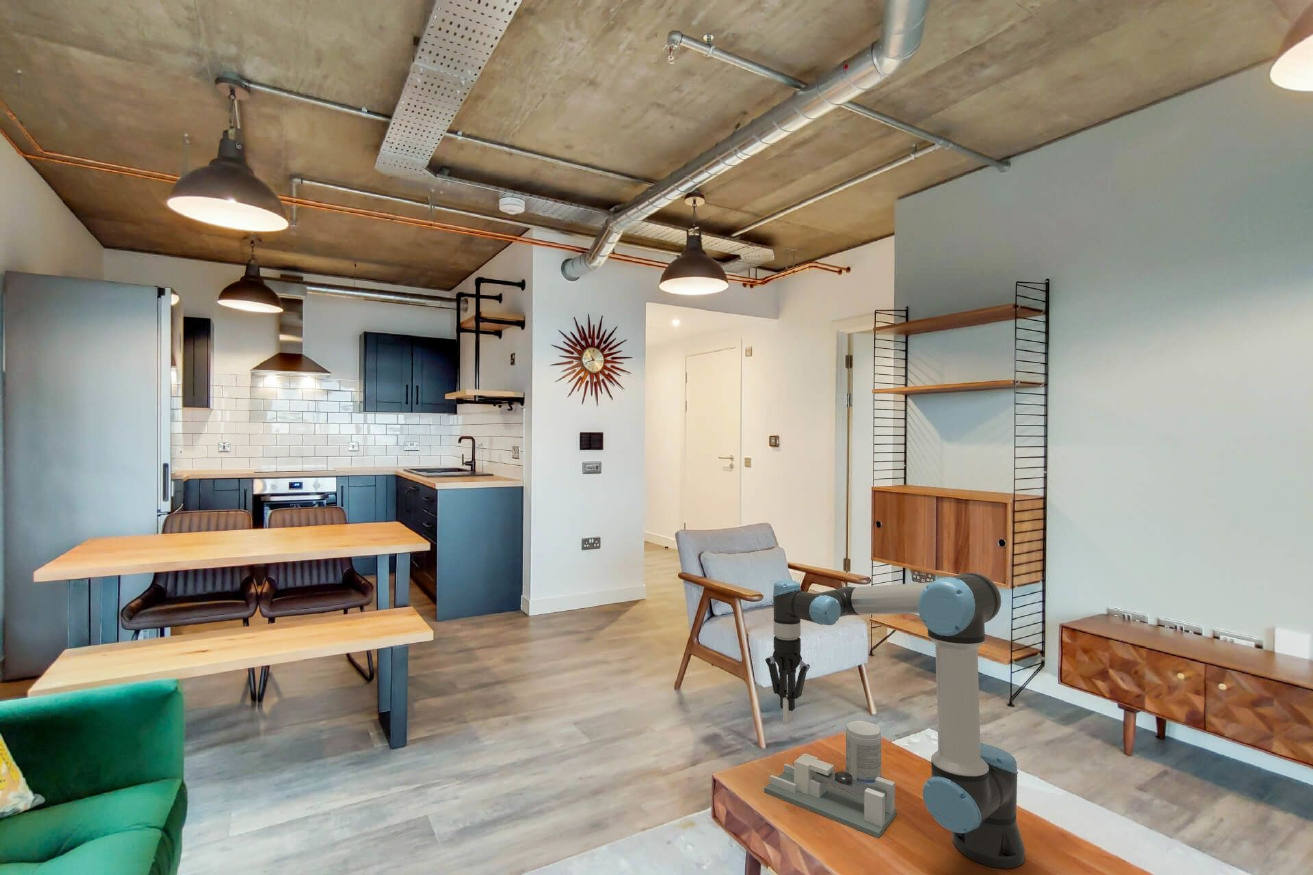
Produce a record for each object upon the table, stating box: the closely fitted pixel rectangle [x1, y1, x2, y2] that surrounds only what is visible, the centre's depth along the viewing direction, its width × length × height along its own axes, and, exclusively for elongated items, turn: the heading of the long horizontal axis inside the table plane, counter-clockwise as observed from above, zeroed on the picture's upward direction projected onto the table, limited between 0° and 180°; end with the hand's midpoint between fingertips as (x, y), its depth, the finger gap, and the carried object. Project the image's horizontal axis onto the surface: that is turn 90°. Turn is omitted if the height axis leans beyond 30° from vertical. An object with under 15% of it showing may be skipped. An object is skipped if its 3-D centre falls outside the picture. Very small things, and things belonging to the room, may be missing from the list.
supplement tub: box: [845, 720, 882, 787], centre depth 181 cm, size 10×10×15 cm
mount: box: [763, 763, 898, 839], centre depth 169 cm, size 31×13×8 cm, turn 51°
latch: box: [793, 752, 835, 794], centre depth 172 cm, size 9×6×8 cm, turn 51°
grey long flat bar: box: [815, 770, 887, 798], centre depth 166 cm, size 18×4×2 cm, turn 51°
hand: (787, 720), depth 181 cm, fingers closed
